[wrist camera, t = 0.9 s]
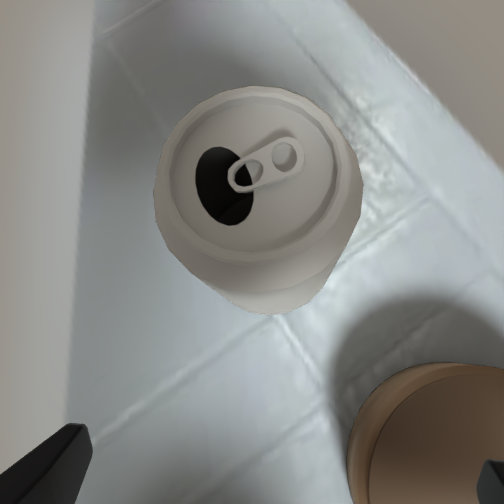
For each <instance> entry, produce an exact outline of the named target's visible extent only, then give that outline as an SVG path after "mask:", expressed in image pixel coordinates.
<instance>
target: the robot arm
mask: <svg viewBox="0 0 504 504" xmlns="http://www.w3.org/2000/svg"><path fill="white" fill-rule="evenodd" d="M92 453H93V448H92V443H91V440H90V436H89V432H88V428H87V426H86V425H85V424H77V423H69V424H67V425H65V426H64V427H62V428H61V429H60V430H58V431H57V432H56V433H55V434H53V435H52V436H51V437H49V438H48V439H47V440H45V441H44V442H43V443H41V444H40V445H39V446H37V447H36V448H35V449H33V450H32V451H31V452H29V453H28V454H27V455H25V456H24V457H23V458H21V459H20V460H19V461H17V462H16V463H15V464H13V465H12V466H11V467H9V468H8V469H7V470H6V471H4V472H3V473H2V474H0V504H75V501H76V499H77V496H78V493H79V490H80V488H81V485H82V482H83V480H84V477H85V474H86V472H87V469H88V466H89V463H90V461H91V458H92ZM476 492H477V497H478V501H479V504H504V460H495V459H487V460H485V461H484V463H483V466H482V469H481V472H480V475H479V478H478V480H477V484H476Z"/></svg>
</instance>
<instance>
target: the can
mask: <svg viewBox="0 0 504 504" xmlns="http://www.w3.org/2000/svg"><path fill="white" fill-rule="evenodd" d="M363 185H364V184H363V180H362V176H361V172H360V168H359V164H358V160H357V156H356V153H355V152H354V150H353V149H352V147H351V146H350V144H349V143H348V141H347V140H346V138H345V137H344V135H343V133H342V132H341V130H340V129H339V128H338V127H337V126H336V124H335V123H334V121H333V120H332V118H331V116H330V115H329V114H328V113H326V112H325V111H324V110H323V109H321V108H320V107H319V106H317V105H316V104H315V103H314V102H312V101H311V100H310V99H309V98H307V97H304V96H302V95H299V94H297V93H294V92H291V91H289V90H286V89H283V88H280V87H268V86H255V85H251V86H246V87H241V88H236V89H231V90H226V91H223V92H221V93H219V94H217V95H215V96H213V97H211V98H209V99H207V100H205V101H203V102H201V103H199V104H197V105H196V106H195V107H194V108H193V109H192V110H191V111H190V112H189V113H188V114H186V115H185V116H184V117H183V118H182V119H181V120H180V121H179V122H178V123H177V124H176V126H175V128H174V129H173V131H172V133H171V134H170V136H169V138H168V139H167V141H166V143H165V144H164V146H163V149H162V153H161V157H160V161H159V166H158V170H157V177H156V182H155V186H154V190H153V195H154V206H155V217H156V223H157V225H158V227H159V229H160V232H161V234H162V236H163V238H164V240H165V242H166V245H167V247H168V249H169V250H170V252H171V253H172V254H173V255H174V256H175V257H176V258H177V259H178V260H179V261H180V262H181V263H182V264H183V265H184V266H185V267H186V268H187V269H188V270H189V271H190V272H191V273H192V274H193V275H195V276H196V277H197V278H199V279H200V280H201V281H203V282H204V283H205V284H207V285H208V286H209V287H211V288H212V289H213V290H215V291H216V292H217V293H219V294H220V295H221V296H223V297H224V298H225V299H227V300H228V301H229V302H231V303H232V304H234V305H236V306H238V307H240V308H242V309H244V310H246V311H248V312H251V313H257V314H264V315H275V314H282V313H288V312H291V311H293V310H295V309H297V308H299V307H301V306H303V305H305V304H307V303H308V302H309V301H310V300H311V299H312V298H313V297H314V296H315V295H316V294H317V293H318V292H319V291H320V290H321V289H322V288H323V286H324V284H325V283H326V281H327V279H328V277H329V276H330V274H331V272H332V270H333V268H334V267H335V265H336V263H337V261H338V260H339V258H340V256H341V254H342V252H343V251H344V249H345V247H346V245H347V243H348V241H349V239H350V237H351V235H352V233H353V230H354V228H355V226H356V224H357V222H358V220H359V218H360V214H361V204H362V194H363Z"/></svg>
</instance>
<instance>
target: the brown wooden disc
mask: <svg viewBox="0 0 504 504" xmlns="http://www.w3.org/2000/svg"><path fill="white" fill-rule="evenodd" d="M487 459H495V460H504V369H500V368H496V367H489V366H480V365H470V364H460V363H450V362H432V363H426V364H420V365H416V366H413V367H410V368H407V369H405V370H402V371H400V372H398V373H396V374H394V375H393V376H391V377H390V378H388V379H387V380H385V381H384V382H383V383H382V384H380V385H379V386H378V387H377V388H376V389H375V390H374V391H373V392H372V393H371V395H370V396H369V397H368V398H367V399H366V401H365V402H364V404H363V406H362V407H361V409H360V410H359V412H358V415H357V417H356V419H355V421H354V424H353V427H352V430H351V433H350V437H349V443H348V449H347V475H348V483H349V488H350V493H351V497H352V500H353V503H354V504H479V501H478V497H477V492H476V484H477V480H478V478H479V475H480V472H481V469H482V466H483V463H484V461H485V460H487Z"/></svg>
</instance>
